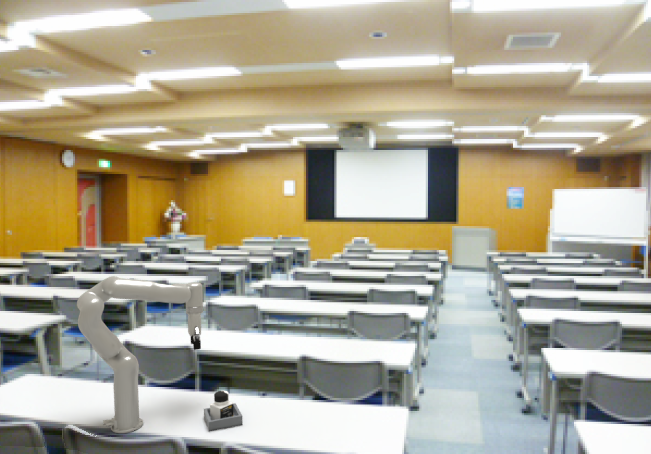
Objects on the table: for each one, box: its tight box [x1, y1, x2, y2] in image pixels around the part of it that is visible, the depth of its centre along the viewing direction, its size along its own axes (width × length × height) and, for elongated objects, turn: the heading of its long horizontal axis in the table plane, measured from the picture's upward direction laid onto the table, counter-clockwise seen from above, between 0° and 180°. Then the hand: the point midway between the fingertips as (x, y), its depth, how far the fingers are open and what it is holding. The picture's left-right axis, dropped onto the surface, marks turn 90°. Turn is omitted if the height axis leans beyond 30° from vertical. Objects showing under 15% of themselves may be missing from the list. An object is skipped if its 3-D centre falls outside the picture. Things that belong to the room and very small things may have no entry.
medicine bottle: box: [209, 390, 234, 420], centre depth 205 cm, size 7×7×12 cm
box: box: [203, 402, 243, 433], centre depth 205 cm, size 14×14×4 cm
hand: (195, 346), depth 219 cm, fingers open, 9 cm apart
